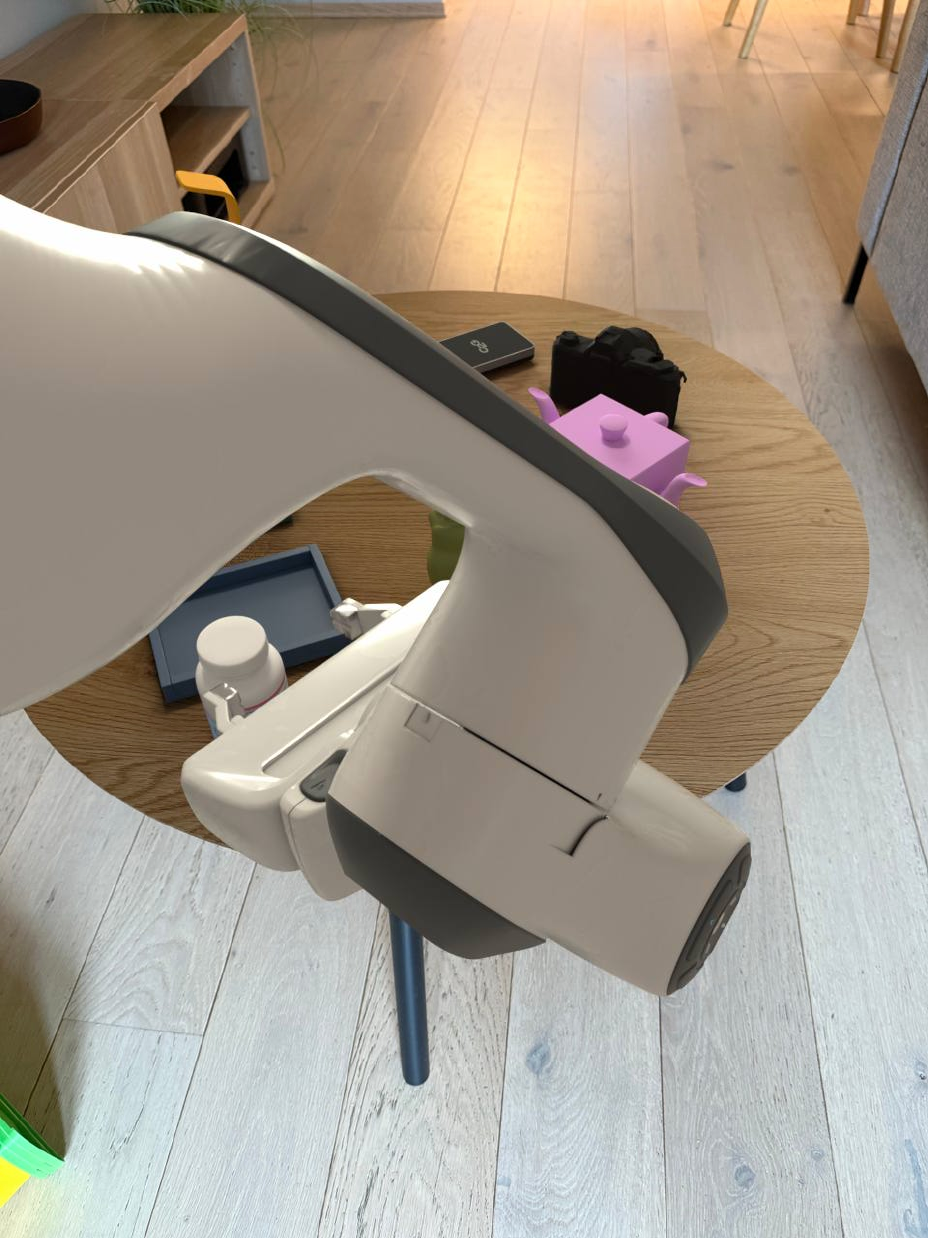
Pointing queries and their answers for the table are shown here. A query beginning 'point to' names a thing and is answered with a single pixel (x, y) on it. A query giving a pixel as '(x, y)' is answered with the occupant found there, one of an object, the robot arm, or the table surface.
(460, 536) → the green figurine
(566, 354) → the film camera
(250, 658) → the pill bottle
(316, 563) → the dish
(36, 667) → the robot arm
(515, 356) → the external hard drive
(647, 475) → the teapot
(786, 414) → the table surface
